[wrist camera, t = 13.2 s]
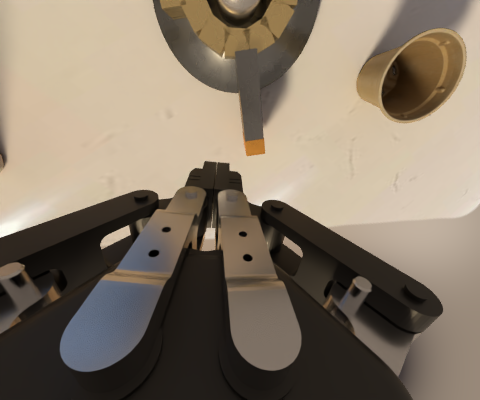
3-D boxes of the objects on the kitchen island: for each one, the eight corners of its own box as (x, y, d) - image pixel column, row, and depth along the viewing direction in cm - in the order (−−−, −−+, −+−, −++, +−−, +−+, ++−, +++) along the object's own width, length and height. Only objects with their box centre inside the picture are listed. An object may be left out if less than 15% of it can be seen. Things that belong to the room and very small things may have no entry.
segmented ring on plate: (242, 150, 34) (244, 164, 29) (138, -46, 23) (111, -82, 17) (336, 101, 31) (358, 106, 26) (272, -156, 19) (288, -241, 14)
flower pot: (367, 125, 35) (404, 138, 27) (331, 84, 32) (363, 87, 24) (420, 73, 31) (480, 73, 24) (387, 22, 28) (444, 3, 21)
